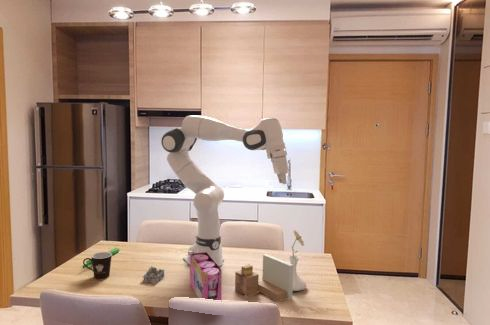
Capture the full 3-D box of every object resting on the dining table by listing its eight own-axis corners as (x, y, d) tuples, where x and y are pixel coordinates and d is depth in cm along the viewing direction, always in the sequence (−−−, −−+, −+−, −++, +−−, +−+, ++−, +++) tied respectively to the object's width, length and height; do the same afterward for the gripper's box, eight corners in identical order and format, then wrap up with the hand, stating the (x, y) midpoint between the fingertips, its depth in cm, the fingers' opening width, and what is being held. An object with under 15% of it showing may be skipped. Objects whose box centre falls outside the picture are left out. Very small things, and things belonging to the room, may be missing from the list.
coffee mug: (115, 274, 171) (115, 253, 171) (103, 281, 163) (102, 259, 162) (95, 270, 175) (95, 250, 174) (81, 277, 167) (81, 256, 166)
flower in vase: (305, 295, 155) (308, 236, 153) (278, 292, 157) (280, 234, 155) (306, 282, 168) (308, 228, 166) (281, 280, 170) (283, 226, 168)
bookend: (253, 288, 160) (254, 257, 159) (265, 284, 164) (266, 253, 163) (280, 302, 148) (281, 268, 147) (292, 297, 152) (293, 264, 151)
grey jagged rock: (151, 273, 174) (151, 265, 174) (166, 275, 173) (166, 266, 172) (140, 282, 164) (140, 273, 164) (156, 284, 162) (156, 275, 162)
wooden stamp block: (234, 290, 158) (235, 265, 158) (245, 286, 162) (246, 261, 161) (246, 296, 152) (247, 270, 151) (258, 292, 156) (258, 267, 155)
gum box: (223, 305, 145) (223, 271, 144) (203, 308, 142) (203, 273, 141) (206, 281, 167) (207, 251, 166) (189, 283, 164) (189, 253, 163)
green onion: (113, 253, 203) (78, 270, 174) (113, 247, 203) (78, 263, 174) (121, 254, 202) (87, 271, 173) (121, 248, 202) (88, 264, 173)
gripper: (267, 155, 177) (273, 183, 177) (272, 154, 156) (279, 186, 156) (280, 152, 177) (286, 180, 177) (287, 151, 156) (293, 183, 157)
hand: (283, 183), depth 166 cm, fingers open, 8 cm apart
